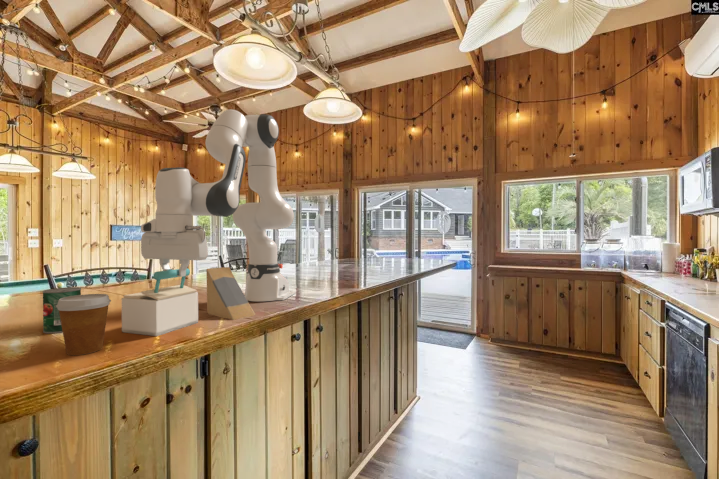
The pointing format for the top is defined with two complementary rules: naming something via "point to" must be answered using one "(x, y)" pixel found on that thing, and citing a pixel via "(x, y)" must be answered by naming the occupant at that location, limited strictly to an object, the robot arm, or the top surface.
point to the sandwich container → (226, 295)
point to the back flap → (135, 296)
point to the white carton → (159, 314)
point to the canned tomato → (51, 311)
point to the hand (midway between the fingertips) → (174, 276)
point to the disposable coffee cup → (83, 322)
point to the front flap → (168, 291)
